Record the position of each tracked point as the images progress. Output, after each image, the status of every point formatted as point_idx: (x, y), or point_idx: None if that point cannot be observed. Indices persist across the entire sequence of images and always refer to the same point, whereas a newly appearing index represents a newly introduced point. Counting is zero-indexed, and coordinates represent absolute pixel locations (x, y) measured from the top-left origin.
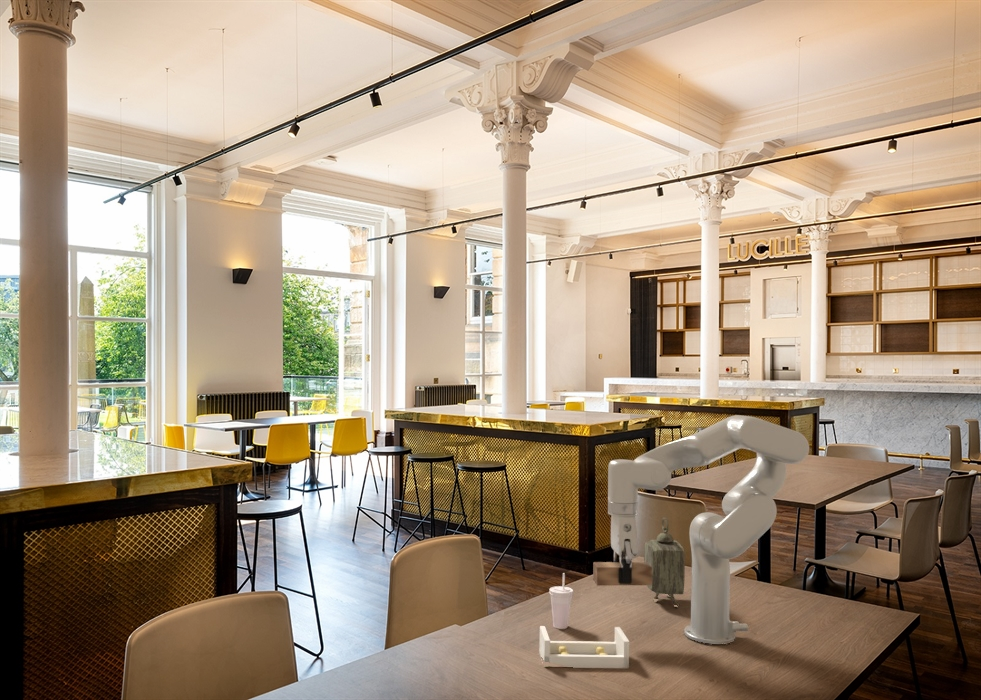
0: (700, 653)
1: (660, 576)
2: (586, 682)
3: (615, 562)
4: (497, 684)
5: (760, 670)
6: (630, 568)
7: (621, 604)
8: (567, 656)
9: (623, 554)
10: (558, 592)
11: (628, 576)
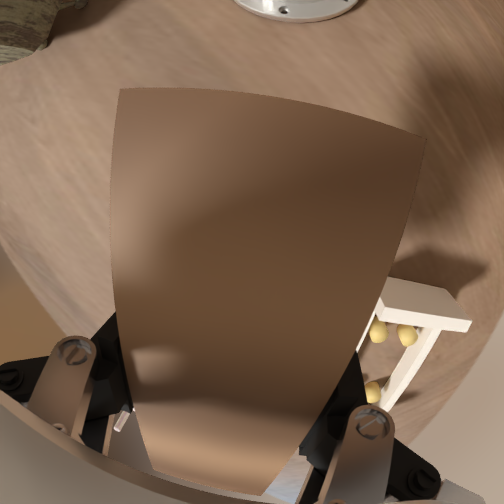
0: (411, 57)
1: (20, 22)
2: (447, 372)
3: (144, 413)
4: None
5: (489, 20)
6: (354, 400)
7: (42, 127)
8: (395, 401)
9: (85, 416)
10: None
11: (359, 370)
